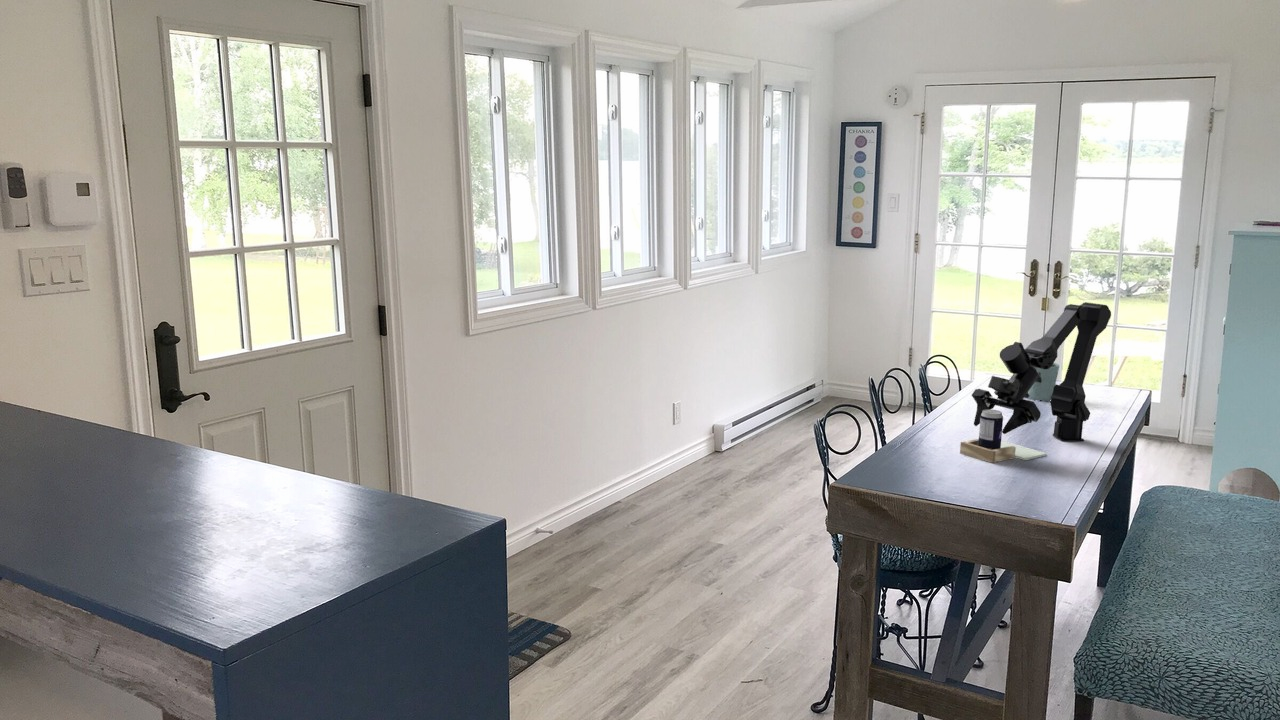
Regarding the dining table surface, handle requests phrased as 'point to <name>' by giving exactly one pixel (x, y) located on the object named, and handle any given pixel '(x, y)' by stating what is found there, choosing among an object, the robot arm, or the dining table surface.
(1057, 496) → the dining table surface
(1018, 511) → the dining table surface
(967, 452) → the frame
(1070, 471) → the dining table surface
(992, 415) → the beverage can
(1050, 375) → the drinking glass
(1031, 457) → the sage pad
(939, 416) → the dining table surface
